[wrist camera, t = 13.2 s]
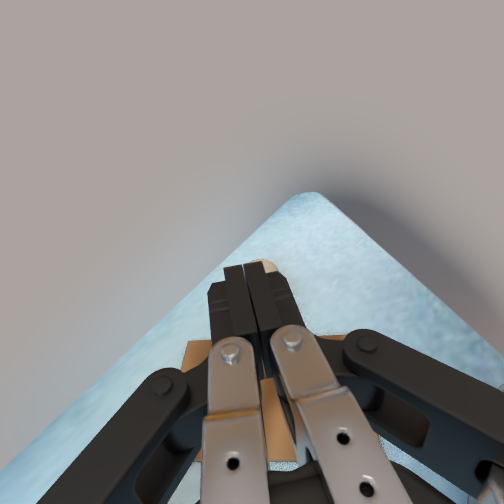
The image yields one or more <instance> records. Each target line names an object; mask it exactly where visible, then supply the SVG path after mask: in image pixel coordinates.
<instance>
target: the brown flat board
mask: <svg viewBox="0 0 504 504" xmlns="http://www.w3.org/2000/svg"><path fill="white" fill-rule="evenodd" d="M318 337H321V338H325V339H333V340H344V338H345V337H346V335H333V336H318ZM211 347H212V340H203V341H188V344H187V348H186V351H185V355H184V359H183V363H182V367H181V371H182V372H183V373H184V372H186V371H188V370H190V369H192V368H194V367H196V366H198V365H199V364H201V363H202V362H203V361H204V360H205V359H206V358H207V356H208V355H209V352H210V350H211ZM260 382H261V388H262V408H263V417H264V425H265V433H266V441H267V450H268V458H269V462H297V457H296V454H295V450H294V447H293V444H292V441H291V438H290V435H289V432H288V429H287V426H286V424H285V421H284V418H283V415H282V412H281V409H280V406H279V403H278V400H277V394H276V387H275V383H274V379H273V378H268V379H267V378H265V379H263V380H260ZM373 432H374V431H373ZM374 434H375V435H376V437H377V439H378V441H379V438H378V434H377V433H375V432H374ZM201 457H202V448H201V450H200V451H199V453H198V454H197V456H196V458H195V459H194V461H193V462H201Z"/></svg>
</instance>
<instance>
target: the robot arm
mask: <svg viewBox="0 0 504 504" xmlns="http://www.w3.org/2000/svg"><path fill="white" fill-rule="evenodd" d="M243 267H244V271H243ZM243 267H242V264H241V265H236V266H230V267H225V268H224V275H225V281H221V282H216V283H212V284H211V287H210V289H209V291H208V293H207V294H208V304H209V305H208V306H209V317H210V329H211V340H212V347H211V350H210V352H209V355H208V356H207V358H206V359H205V360H204V361H203V362H202V363H201V364H199V365H198V366H196V367H194V368H192V369H190V370H188V371H186V372H184V373H183V372H182V371H181V370H179V369H176V368H163V369H160V370H157V371H155V372H154V373H152V374H151V375H149V376H148V377H147V378H146V379H145V380H144V381H143V383H142V384H141V385H140V386H139V387H138V388H137V389H136V391H135V392H134V393H133V394H132V395H131V396H130V397H129V398H128V400H127V401H126V402H125V403H124V404H123V405H122V406H121V408H120V409H119V410H118V411H117V412H116V413H115V414H114V416H113V417H112V418H111V419H110V420H109V421H108V422H107V424H106V425H105V426H104V427H103V428H102V429H101V430H100V432H99V433H98V434H97V435H96V436H95V437H94V438H93V440H92V441H91V442H90V443H89V444H88V445H87V446H86V448H85V449H84V450H83V451H82V452H81V453H80V454H79V456H78V457H77V458H76V459H75V460H74V461H73V462H72V464H71V465H70V466H69V467H68V468H67V469H66V470H65V471H64V473H63V474H62V475H61V476H60V477H59V478H58V479H57V481H56V482H55V483H54V484H53V485H52V486H51V487H50V489H49V490H48V491H47V492H46V493H45V494H44V495H43V497H42V498H41V499H40V500H39V501H38V502H37V503H36V504H167V502H168V501H169V499H170V498H171V496H172V494H173V493H174V491H175V490H176V488H177V486H178V485H179V483H180V482H181V480H182V478H183V477H184V475H185V474H186V472H187V470H188V469H189V467H190V466H191V464H192V462H193V461H194V459H195V458H196V456H197V454H198V453H199V451H200V450H201V448H202V457H201V488H200V500H199V501H198V502H197V503H195V504H456V503H455V502H453V501H452V500H451V499H449V498H448V497H447V496H445V495H444V494H442V493H441V492H440V491H438V490H437V489H436V488H434V487H433V486H431V485H430V484H429V483H427V482H426V481H425V480H423V479H422V478H420V477H419V476H418V475H416V474H415V473H413V472H412V471H411V470H409V469H407V468H405V467H404V466H402V465H400V464H398V463H395V462H393V461H391V460H389V459H388V457H387V455H386V454H385V452H384V450H383V448H382V446H381V445H380V443H379V441H378V439H377V437H376V435H375V434H374V432H375V433H377V434H378V435H380V436H381V437H383V438H384V439H386V440H387V441H389V442H390V443H392V444H393V445H395V446H396V447H398V448H399V449H401V450H402V451H404V452H405V453H407V454H409V455H410V456H412V457H413V458H415V459H416V460H418V461H419V462H421V463H422V464H424V465H425V466H427V467H428V468H430V469H431V470H433V471H434V472H436V473H437V474H439V475H440V476H442V477H443V478H445V479H446V480H448V481H449V482H451V483H452V484H454V485H455V486H457V487H458V488H460V489H461V490H463V491H464V492H466V493H467V494H469V495H470V496H472V497H473V498H475V499H476V500H478V503H479V504H504V392H502V391H500V390H498V389H496V388H494V387H492V386H490V385H488V384H486V383H483V382H481V381H479V380H477V379H475V378H473V377H471V376H469V375H467V374H465V373H462V372H460V371H458V370H456V369H454V368H452V367H450V366H448V365H446V364H444V363H441V362H439V361H437V360H435V359H433V358H431V357H429V356H427V355H425V354H423V353H420V352H418V351H416V350H414V349H412V348H410V347H408V346H406V345H404V344H402V343H399V342H397V341H395V340H393V339H391V338H389V337H387V336H385V335H383V334H381V333H378V332H376V331H373V330H369V329H358V330H354V331H352V332H350V333H348V334H347V335H346V337H345V338H344V340H333V339H325V338H321V337H318V336H316V335H314V334H313V333H312V332H311V331H310V330H308V329H307V328H306V326H305V324H304V322H303V319H302V317H301V314H300V312H299V309H298V307H297V304H296V302H295V299H294V297H293V294H292V292H291V289H290V287H289V284H288V282H287V279H286V278H285V277H284V276H283V275H282V274H281V273H279V272H278V271H274V272H269V273H266V272H265V269H264V266H263V263H262V261H257V262H251V263H246V264H243ZM244 274H245V276H244ZM261 356H262V357H261ZM262 361H263V363H262ZM263 365H264V369H265V374H266V378H267V379H268V378H272V377H273V379H274V383H275V387H276V394H277V400H278V403H279V406H280V409H281V412H282V415H283V418H284V421H285V424H286V426H287V429H288V432H289V435H290V438H291V441H292V444H293V447H294V450H295V454H296V457H297V462H298V466H299V468H297V469H295V470H293V471H270V465H269V458H268V450H267V441H266V433H265V425H264V417H263V408H262V388H261V382H260V380H263V379H265V377H264V370H263ZM373 431H374V432H373Z"/></svg>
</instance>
